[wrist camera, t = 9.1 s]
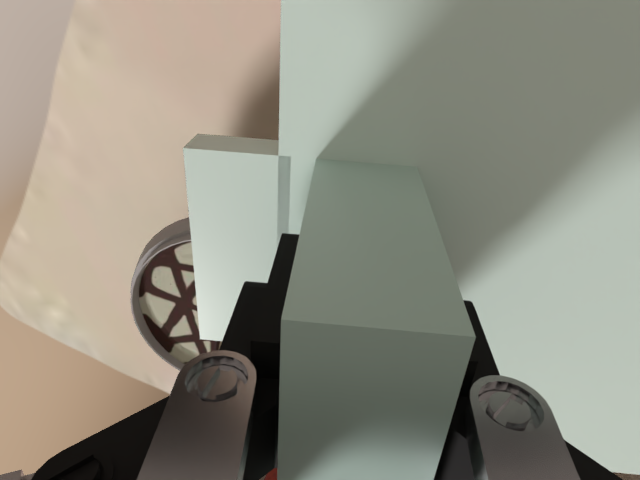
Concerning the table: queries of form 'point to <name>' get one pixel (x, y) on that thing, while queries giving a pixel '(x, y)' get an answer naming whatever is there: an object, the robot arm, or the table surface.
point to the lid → (437, 223)
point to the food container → (169, 297)
